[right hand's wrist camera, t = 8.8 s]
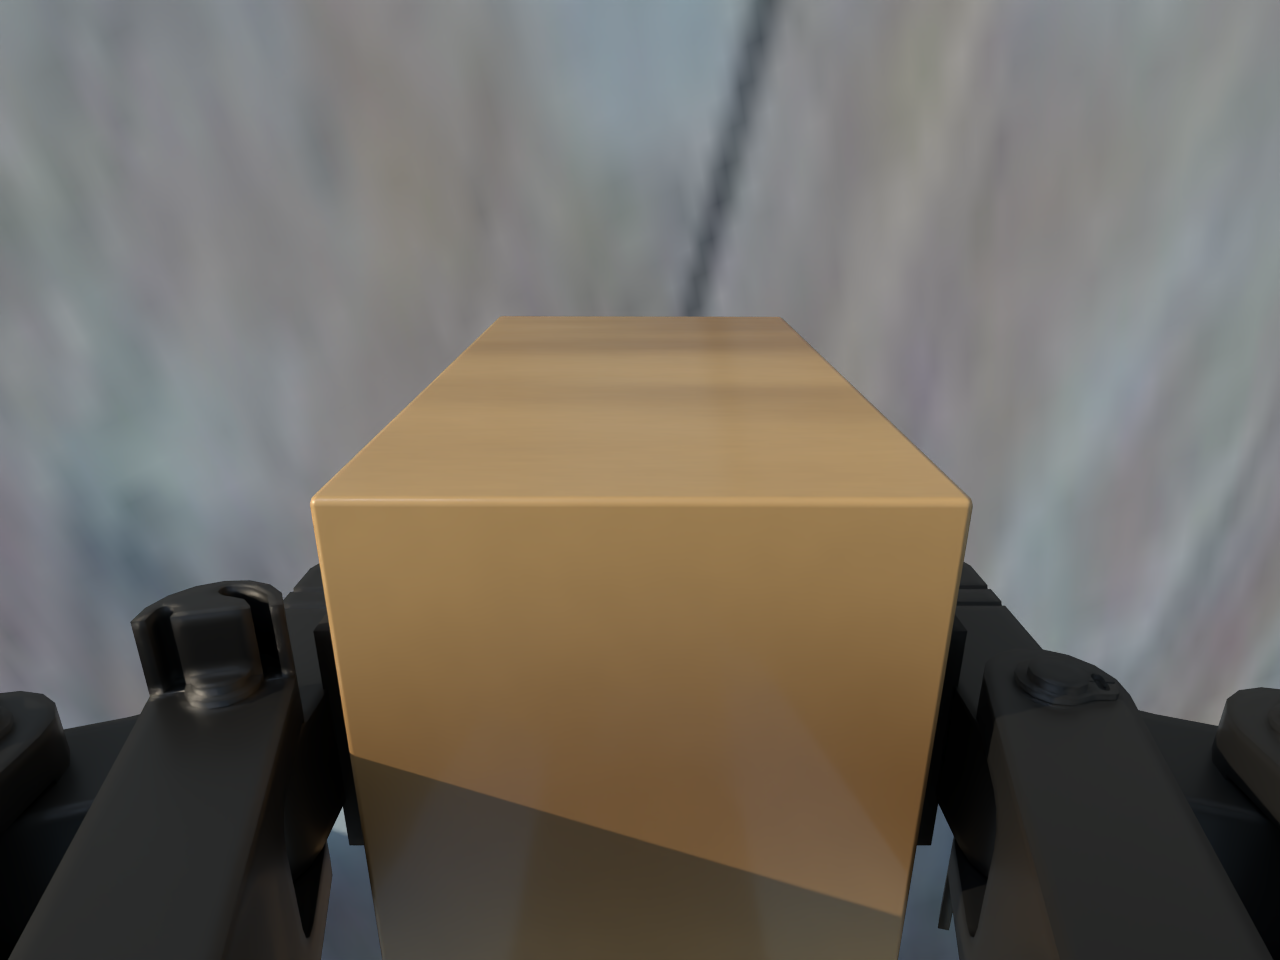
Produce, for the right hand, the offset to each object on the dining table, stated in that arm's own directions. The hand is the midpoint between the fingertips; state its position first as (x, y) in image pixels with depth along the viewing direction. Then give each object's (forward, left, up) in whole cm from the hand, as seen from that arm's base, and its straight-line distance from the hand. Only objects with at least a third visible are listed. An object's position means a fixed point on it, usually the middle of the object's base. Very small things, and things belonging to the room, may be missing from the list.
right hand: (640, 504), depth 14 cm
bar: (+2, +8, -1) cm, 8 cm away
